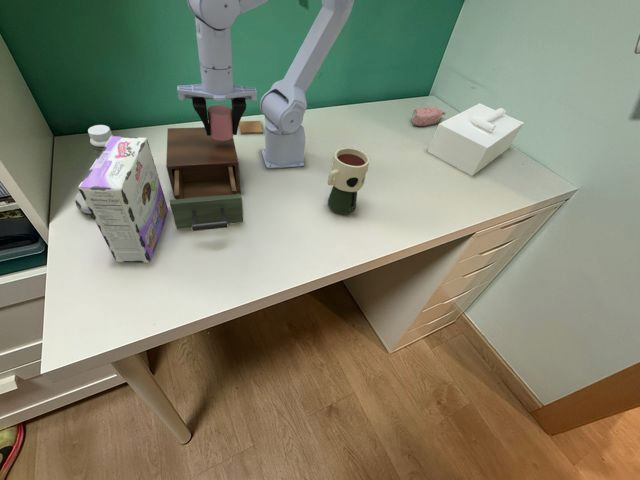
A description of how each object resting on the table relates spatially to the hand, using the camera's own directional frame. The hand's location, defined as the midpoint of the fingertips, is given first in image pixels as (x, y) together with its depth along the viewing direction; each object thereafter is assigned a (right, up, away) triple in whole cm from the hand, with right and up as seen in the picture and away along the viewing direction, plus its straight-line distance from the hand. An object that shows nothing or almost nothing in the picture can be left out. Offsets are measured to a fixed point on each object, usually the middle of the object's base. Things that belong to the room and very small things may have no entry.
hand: (221, 132), depth 69 cm
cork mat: (+1, +9, +23) cm, 25 cm away
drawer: (-2, -17, -3) cm, 17 cm away
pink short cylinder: (0, 0, 0) cm, 0 cm away
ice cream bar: (+56, +17, +40) cm, 71 cm away
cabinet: (-5, -8, +6) cm, 11 cm away
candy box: (-12, -22, -8) cm, 26 cm away
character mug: (+26, -15, +4) cm, 30 cm away
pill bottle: (-26, -5, +5) cm, 27 cm away
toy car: (-20, -15, -3) cm, 25 cm away
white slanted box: (+66, +4, +30) cm, 72 cm away
